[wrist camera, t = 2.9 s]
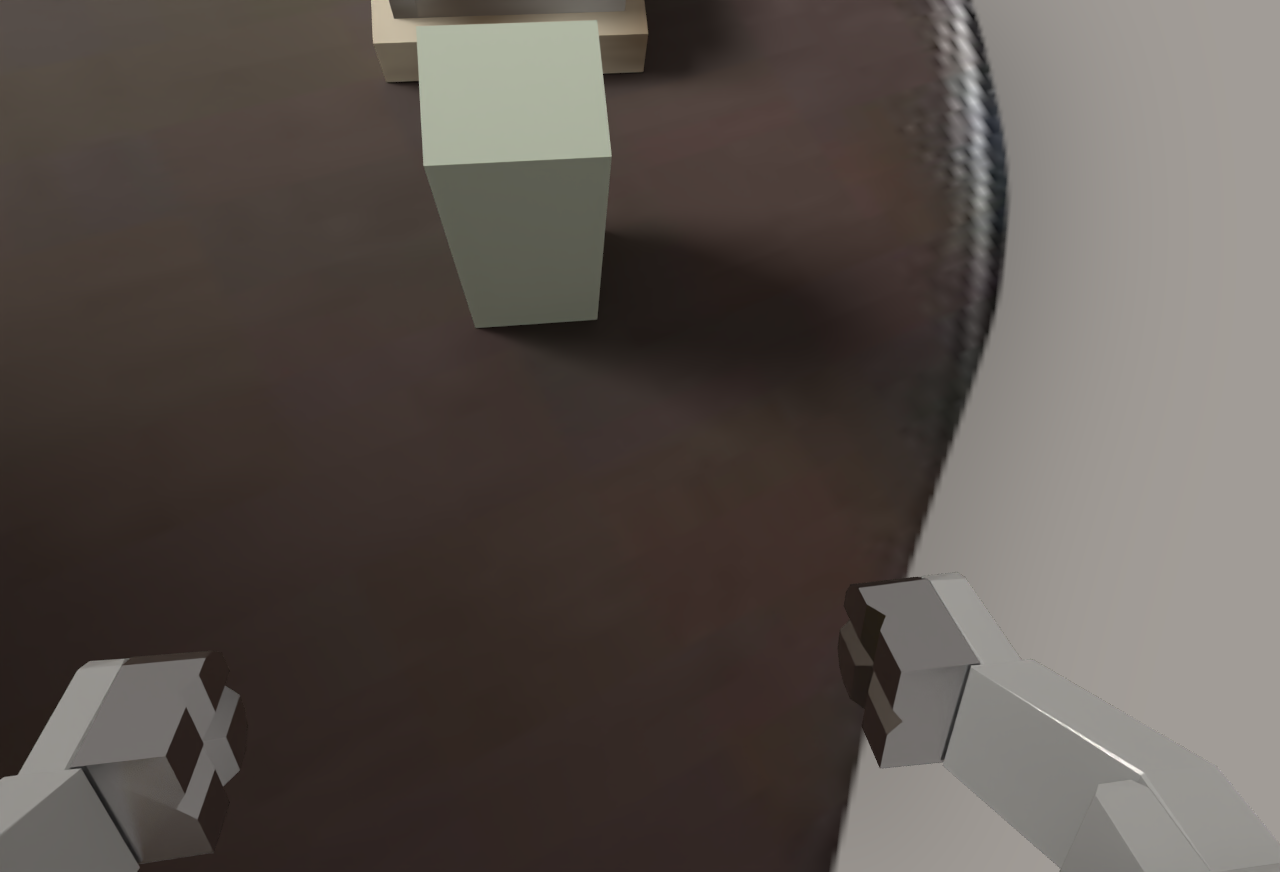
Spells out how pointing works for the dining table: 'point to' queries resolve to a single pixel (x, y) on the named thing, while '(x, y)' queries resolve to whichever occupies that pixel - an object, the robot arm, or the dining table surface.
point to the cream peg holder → (433, 3)
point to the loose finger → (518, 164)
